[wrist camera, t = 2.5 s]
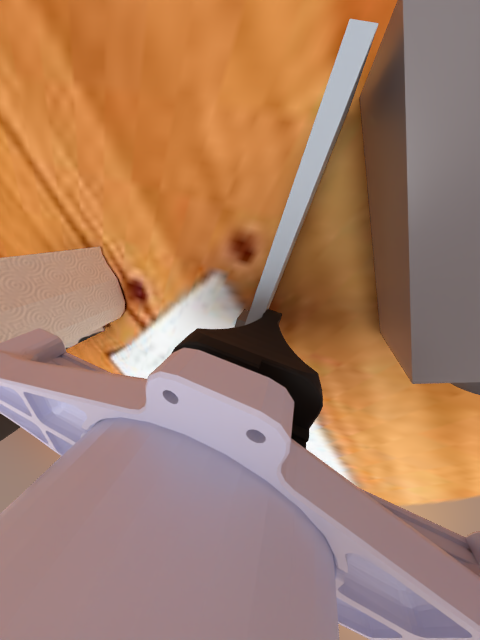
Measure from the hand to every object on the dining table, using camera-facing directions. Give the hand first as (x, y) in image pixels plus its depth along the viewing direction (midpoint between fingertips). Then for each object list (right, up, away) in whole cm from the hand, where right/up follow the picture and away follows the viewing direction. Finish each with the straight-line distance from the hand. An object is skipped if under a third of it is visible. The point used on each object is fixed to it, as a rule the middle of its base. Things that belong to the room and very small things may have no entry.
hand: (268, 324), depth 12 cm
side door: (+1, +5, +1) cm, 5 cm away
